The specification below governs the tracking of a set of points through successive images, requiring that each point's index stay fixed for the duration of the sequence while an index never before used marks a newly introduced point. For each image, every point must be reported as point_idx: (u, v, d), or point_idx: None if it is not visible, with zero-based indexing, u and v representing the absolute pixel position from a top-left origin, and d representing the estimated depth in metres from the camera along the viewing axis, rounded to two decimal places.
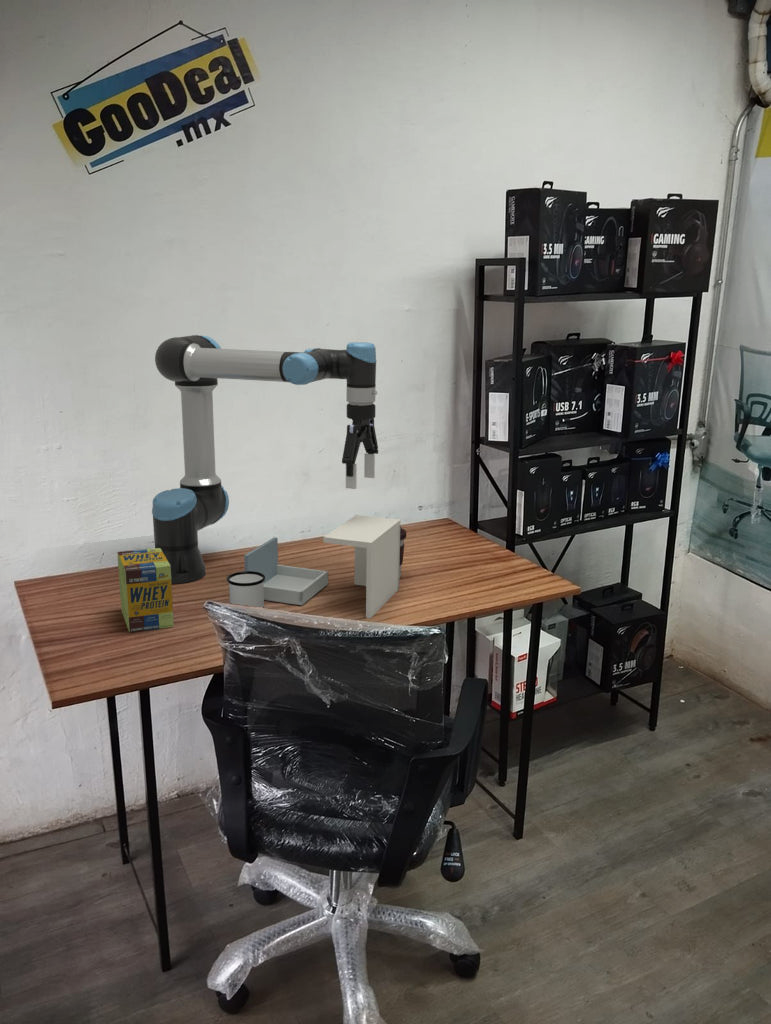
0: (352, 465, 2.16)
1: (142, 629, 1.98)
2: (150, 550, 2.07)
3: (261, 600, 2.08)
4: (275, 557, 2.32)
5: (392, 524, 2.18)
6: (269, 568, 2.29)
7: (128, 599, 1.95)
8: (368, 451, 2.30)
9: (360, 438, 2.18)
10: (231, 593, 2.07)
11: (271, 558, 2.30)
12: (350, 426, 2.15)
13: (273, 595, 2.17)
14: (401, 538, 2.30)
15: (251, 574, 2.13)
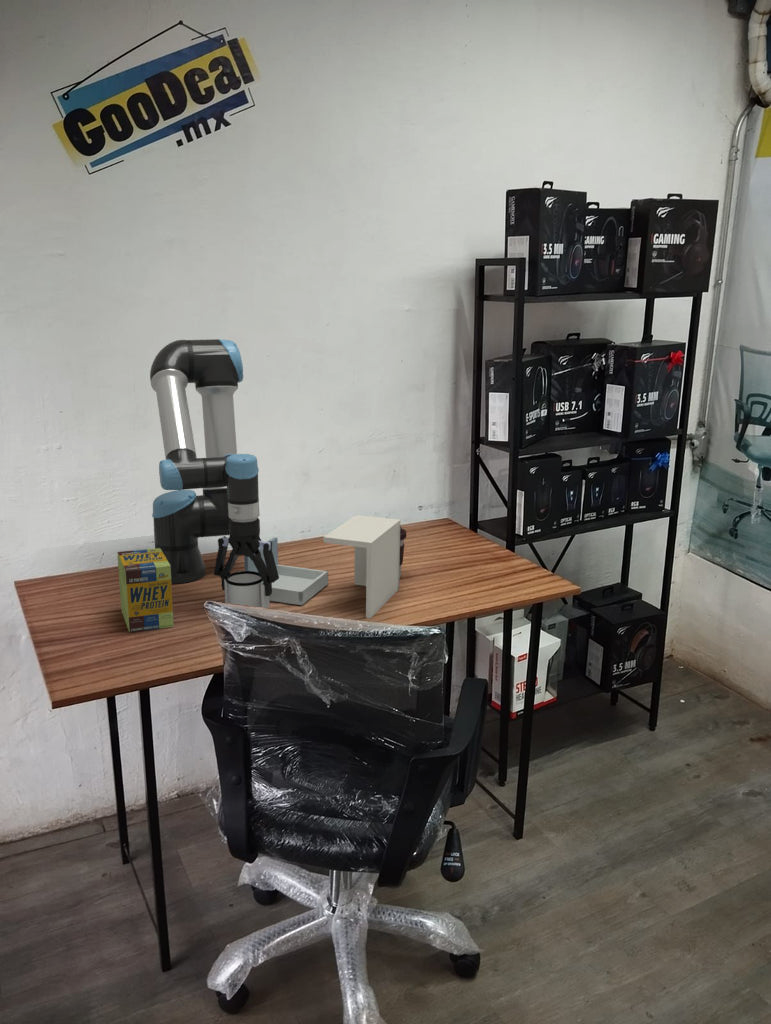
0: (223, 579, 2.11)
1: (142, 629, 1.98)
2: (150, 550, 2.07)
3: (259, 600, 2.08)
4: (275, 557, 2.32)
5: (392, 524, 2.18)
6: None
7: (128, 599, 1.95)
8: None
9: None
10: (229, 593, 2.07)
11: None
12: None
13: (273, 595, 2.17)
14: (401, 538, 2.30)
15: (250, 573, 2.13)
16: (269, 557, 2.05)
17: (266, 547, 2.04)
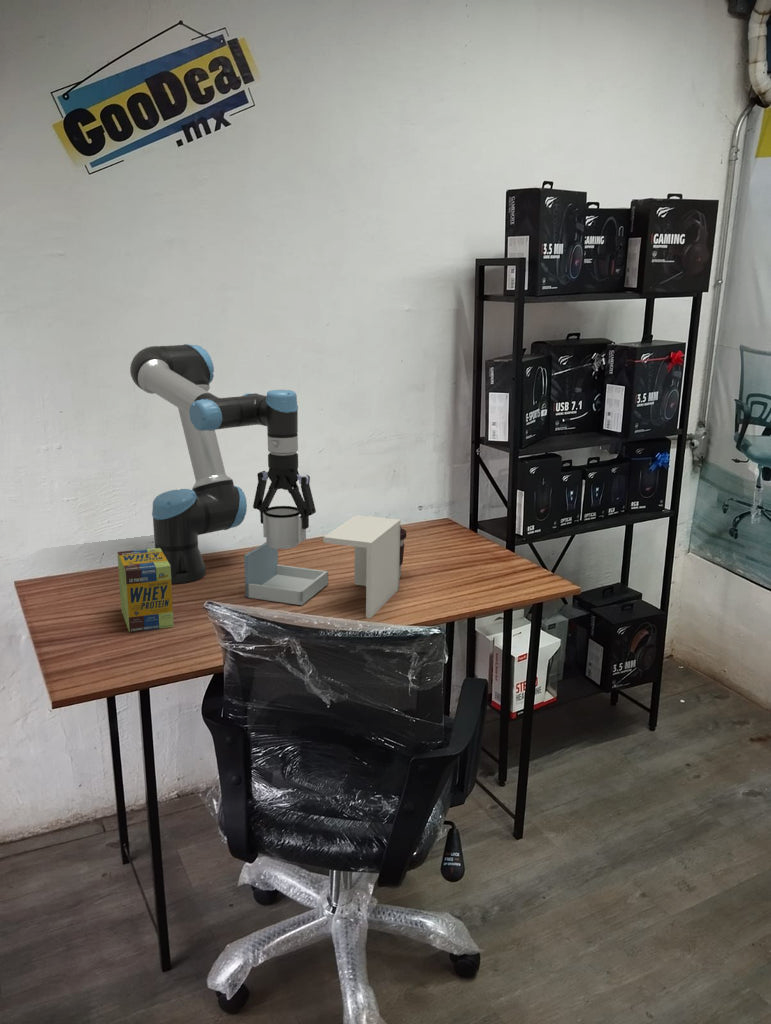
0: (262, 512, 2.18)
1: (142, 629, 1.98)
2: (150, 550, 2.07)
3: (296, 533, 2.15)
4: (275, 557, 2.32)
5: (392, 524, 2.18)
6: (269, 568, 2.29)
7: (128, 599, 1.95)
8: None
9: None
10: (267, 525, 2.14)
11: (271, 558, 2.30)
12: None
13: (273, 595, 2.17)
14: (401, 538, 2.30)
15: (288, 508, 2.19)
16: (306, 490, 2.11)
17: (304, 480, 2.10)
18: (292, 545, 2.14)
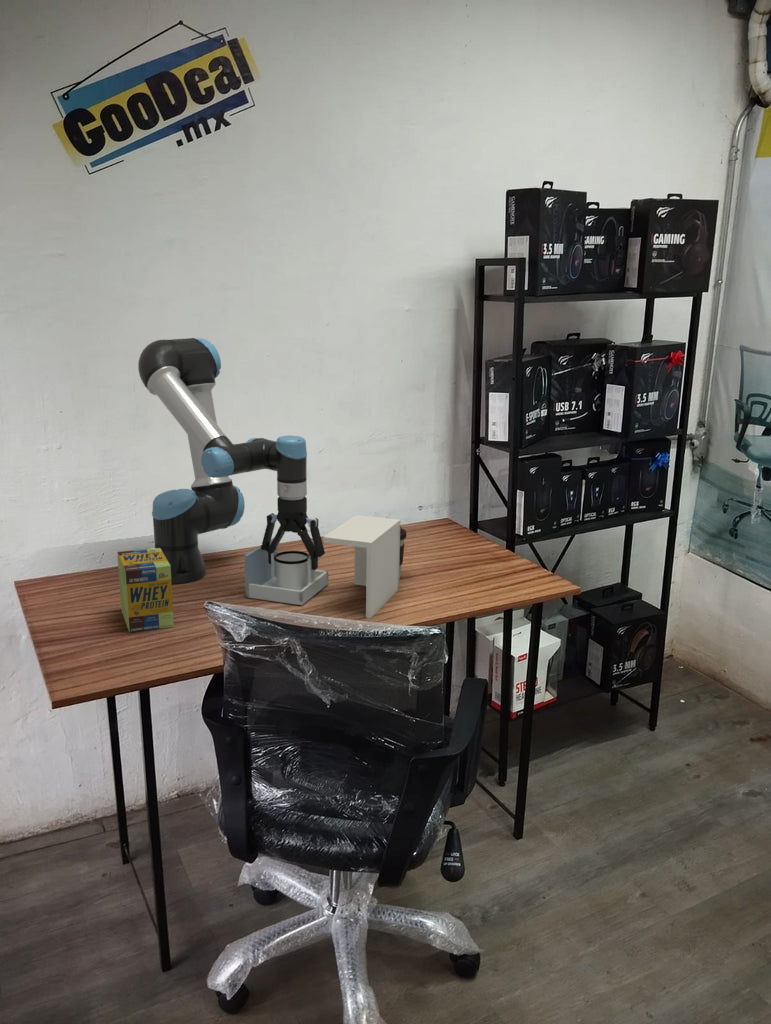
0: (270, 553, 2.23)
1: (142, 629, 1.98)
2: (150, 550, 2.07)
3: (306, 578, 2.21)
4: None
5: (392, 524, 2.18)
6: (269, 568, 2.29)
7: (128, 599, 1.95)
8: None
9: None
10: (278, 571, 2.19)
11: None
12: None
13: (273, 595, 2.17)
14: (401, 538, 2.30)
15: (296, 553, 2.25)
16: (316, 533, 2.17)
17: (313, 523, 2.16)
18: None
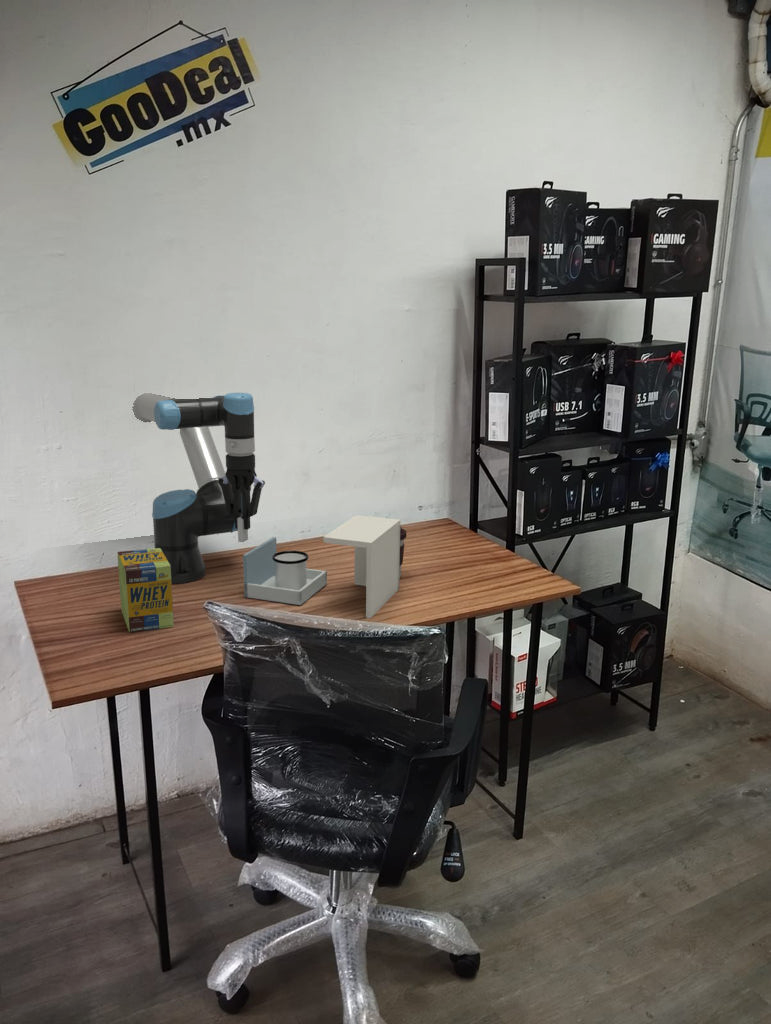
0: (236, 518, 2.24)
1: (142, 629, 1.98)
2: (150, 550, 2.07)
3: (304, 577, 2.21)
4: None
5: (392, 524, 2.18)
6: (268, 568, 2.29)
7: (128, 599, 1.95)
8: None
9: None
10: (276, 571, 2.19)
11: (270, 558, 2.30)
12: None
13: (272, 595, 2.17)
14: (401, 538, 2.30)
15: (295, 553, 2.25)
16: (257, 494, 2.20)
17: (258, 486, 2.18)
18: None
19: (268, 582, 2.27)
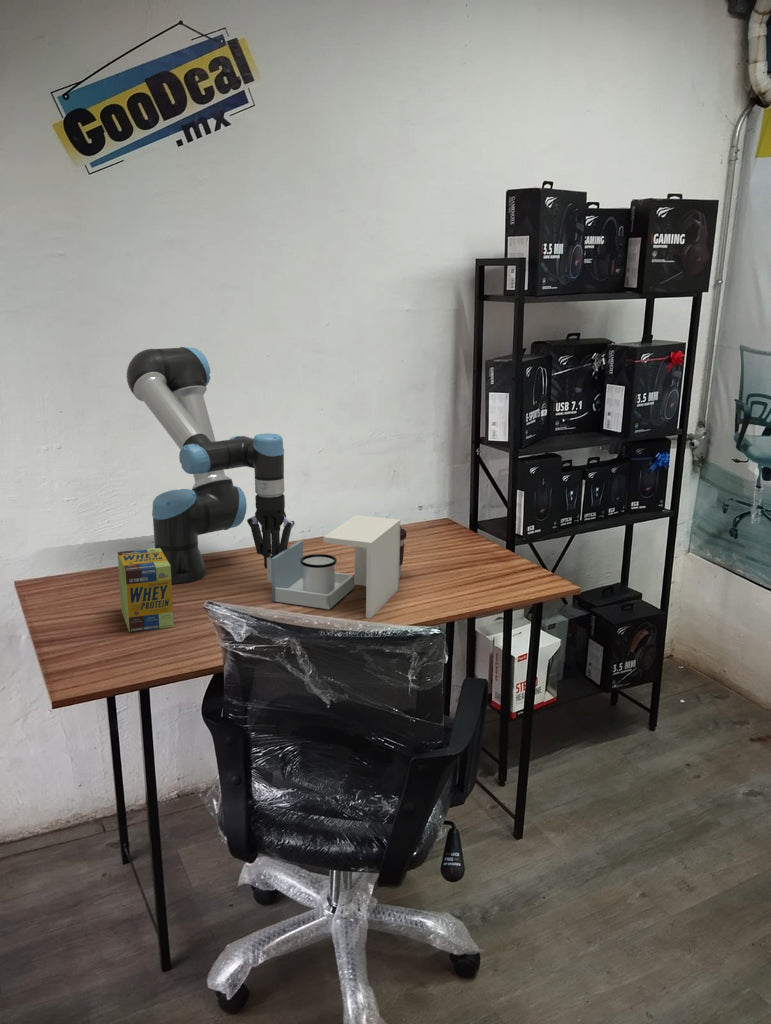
0: (266, 557, 2.23)
1: (142, 629, 1.98)
2: (150, 550, 2.07)
3: (333, 581, 2.18)
4: None
5: (392, 524, 2.18)
6: (295, 571, 2.27)
7: (128, 599, 1.95)
8: None
9: None
10: (304, 574, 2.17)
11: (297, 562, 2.27)
12: None
13: (300, 599, 2.14)
14: (401, 538, 2.30)
15: (322, 556, 2.22)
16: (286, 535, 2.20)
17: (288, 526, 2.18)
18: None
19: (295, 586, 2.25)
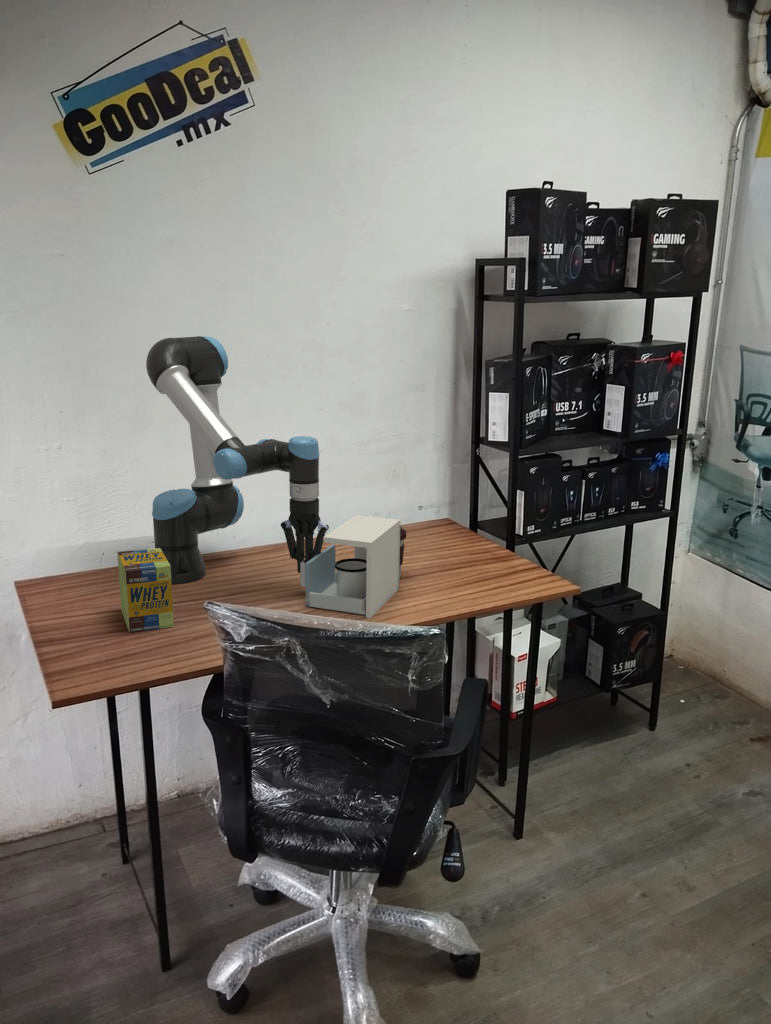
0: (299, 562, 2.21)
1: (142, 629, 1.98)
2: (150, 550, 2.07)
3: None
4: (333, 565, 2.26)
5: (392, 524, 2.18)
6: (327, 576, 2.24)
7: (128, 599, 1.95)
8: None
9: None
10: (339, 579, 2.14)
11: (329, 566, 2.24)
12: None
13: (335, 604, 2.11)
14: (401, 538, 2.30)
15: (356, 561, 2.19)
16: (321, 539, 2.17)
17: (323, 531, 2.15)
18: (363, 598, 2.15)
19: (328, 590, 2.22)
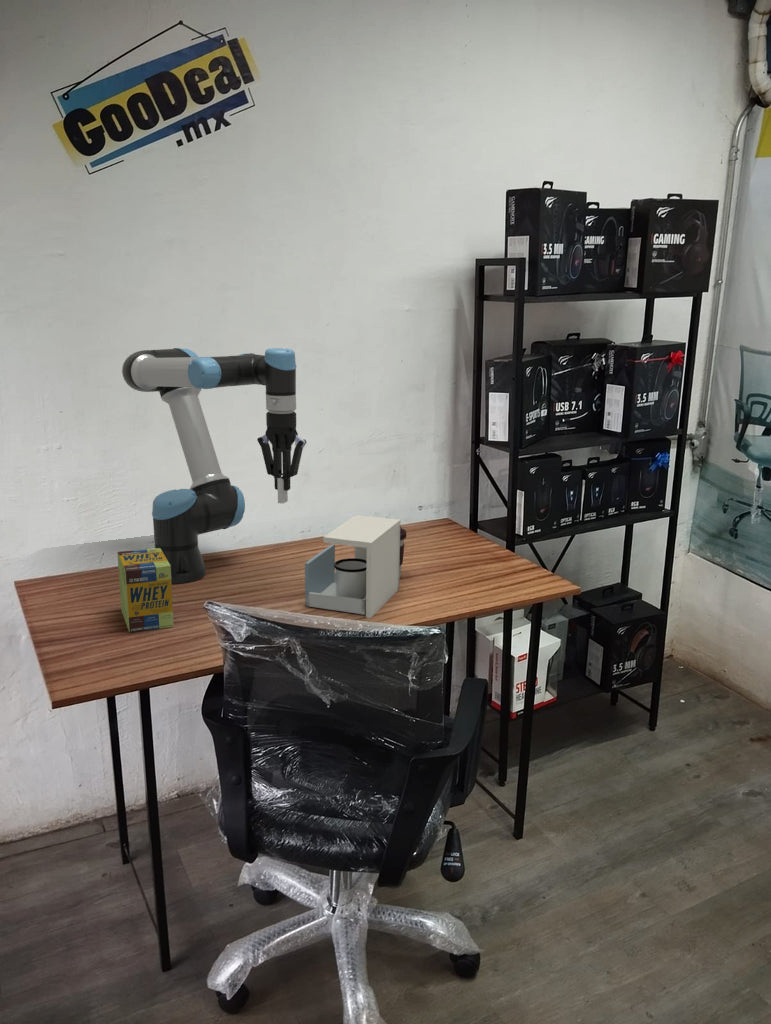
0: (276, 478, 2.17)
1: (142, 629, 1.98)
2: (150, 550, 2.07)
3: None
4: (332, 565, 2.26)
5: (392, 524, 2.18)
6: (327, 576, 2.24)
7: (128, 599, 1.95)
8: None
9: None
10: (338, 579, 2.14)
11: (329, 566, 2.24)
12: None
13: (334, 604, 2.11)
14: (401, 538, 2.30)
15: (356, 561, 2.19)
16: (298, 454, 2.13)
17: (300, 444, 2.12)
18: (363, 598, 2.15)
19: (328, 590, 2.22)
